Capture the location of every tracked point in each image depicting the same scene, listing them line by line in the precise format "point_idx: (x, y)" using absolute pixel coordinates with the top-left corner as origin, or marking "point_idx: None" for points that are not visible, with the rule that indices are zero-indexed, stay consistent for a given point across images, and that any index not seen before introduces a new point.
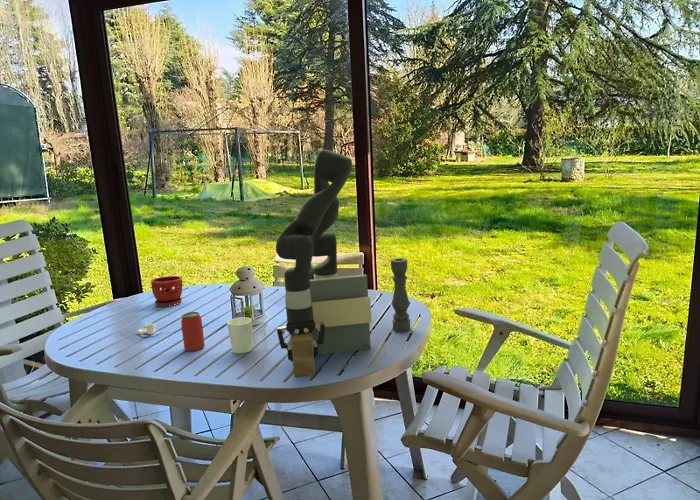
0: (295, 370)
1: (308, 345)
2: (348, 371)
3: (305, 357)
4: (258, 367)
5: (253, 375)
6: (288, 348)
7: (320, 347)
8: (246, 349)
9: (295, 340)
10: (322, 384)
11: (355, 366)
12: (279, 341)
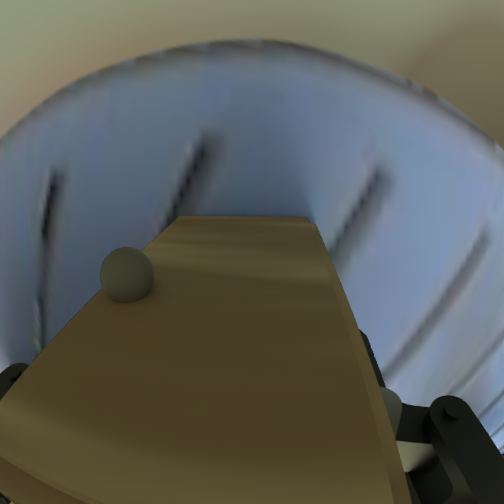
0: (310, 228)
1: (92, 349)
2: (25, 211)
3: (199, 268)
4: (450, 372)
5: (493, 302)
6: (386, 401)
7: None
8: None
9: (322, 484)
10: (142, 67)
11: (11, 256)
12: (501, 455)
